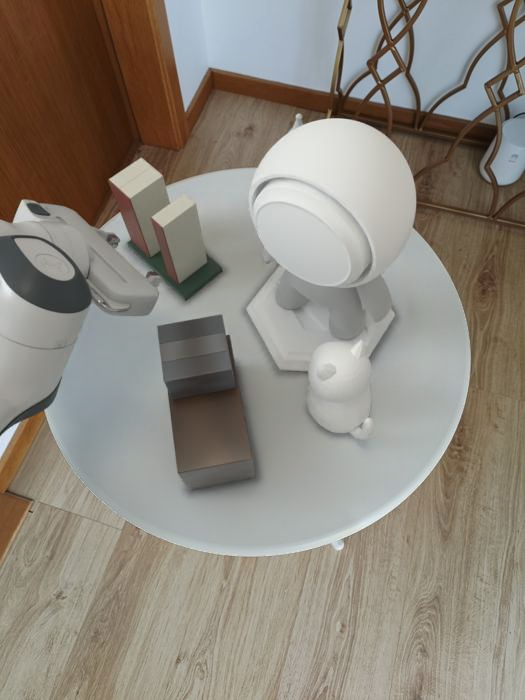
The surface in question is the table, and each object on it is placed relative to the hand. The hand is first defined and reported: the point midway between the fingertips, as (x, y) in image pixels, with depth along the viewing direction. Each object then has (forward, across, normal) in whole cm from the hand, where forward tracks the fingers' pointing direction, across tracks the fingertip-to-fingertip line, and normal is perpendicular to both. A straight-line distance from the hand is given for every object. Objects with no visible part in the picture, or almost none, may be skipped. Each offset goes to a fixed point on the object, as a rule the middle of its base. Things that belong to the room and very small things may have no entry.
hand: (136, 259), depth 76 cm
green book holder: (+12, +3, +2) cm, 13 cm away
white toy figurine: (+19, -21, -5) cm, 29 cm away
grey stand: (+2, -23, +12) cm, 26 cm away
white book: (+12, -1, +1) cm, 12 cm away
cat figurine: (+12, -34, +2) cm, 36 cm away
